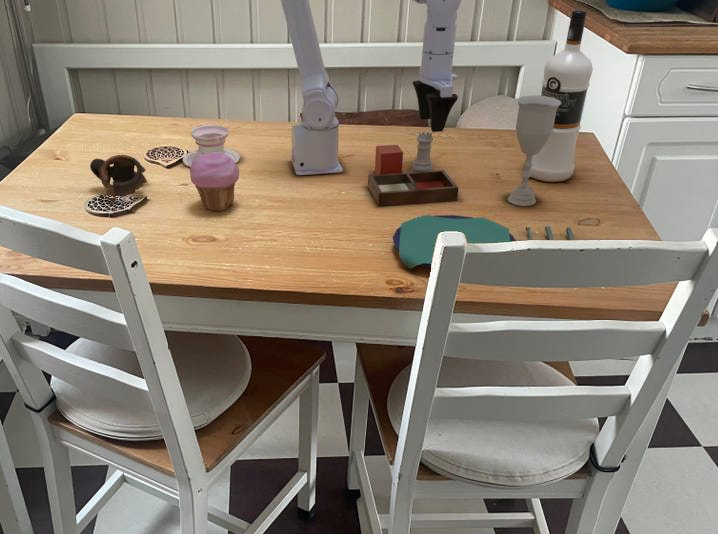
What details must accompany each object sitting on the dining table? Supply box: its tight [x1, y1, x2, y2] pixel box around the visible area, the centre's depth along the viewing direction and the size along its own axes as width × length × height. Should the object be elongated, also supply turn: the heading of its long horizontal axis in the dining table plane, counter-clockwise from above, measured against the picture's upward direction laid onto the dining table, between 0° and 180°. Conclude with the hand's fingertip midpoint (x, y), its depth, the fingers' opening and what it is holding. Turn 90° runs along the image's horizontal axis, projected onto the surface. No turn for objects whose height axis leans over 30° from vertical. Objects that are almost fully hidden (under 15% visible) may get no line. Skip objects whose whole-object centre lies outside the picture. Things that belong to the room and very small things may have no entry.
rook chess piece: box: [410, 131, 434, 172], centre depth 143 cm, size 4×4×8 cm
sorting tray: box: [367, 169, 459, 207], centre depth 137 cm, size 15×9×2 cm, turn 98°
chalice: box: [507, 94, 561, 207], centre depth 129 cm, size 7×7×18 cm
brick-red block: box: [374, 144, 404, 175], centre depth 143 cm, size 4×4×6 cm
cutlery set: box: [392, 214, 575, 270], centre depth 117 cm, size 20×30×2 cm, turn 82°
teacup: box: [182, 124, 241, 168], centre depth 151 cm, size 12×12×6 cm
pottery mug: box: [89, 154, 148, 203], centre depth 138 cm, size 12×10×8 cm
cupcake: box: [189, 152, 240, 212], centre depth 131 cm, size 9×9×10 cm
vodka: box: [530, 9, 594, 183], centre depth 136 cm, size 9×9×30 cm
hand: (431, 124), depth 141 cm, fingers open, 7 cm apart
